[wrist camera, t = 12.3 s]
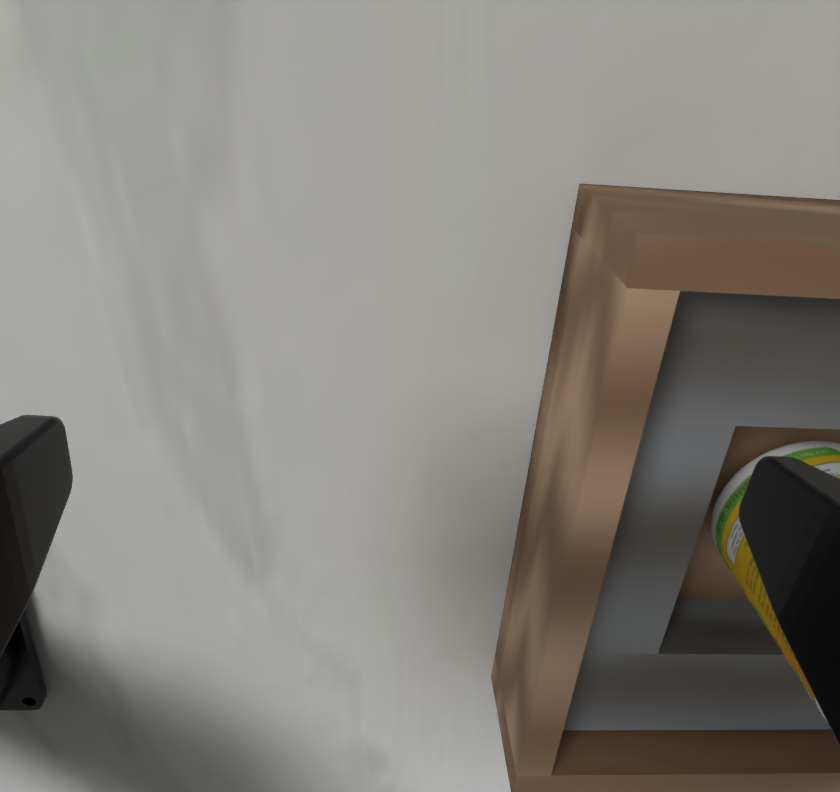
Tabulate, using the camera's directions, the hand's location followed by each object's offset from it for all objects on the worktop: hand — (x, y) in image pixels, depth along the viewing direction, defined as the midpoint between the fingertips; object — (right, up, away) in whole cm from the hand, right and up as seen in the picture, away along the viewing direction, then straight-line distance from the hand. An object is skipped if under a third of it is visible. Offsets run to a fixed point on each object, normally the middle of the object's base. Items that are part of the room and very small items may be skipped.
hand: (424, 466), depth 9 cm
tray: (+13, -2, +16) cm, 20 cm away
